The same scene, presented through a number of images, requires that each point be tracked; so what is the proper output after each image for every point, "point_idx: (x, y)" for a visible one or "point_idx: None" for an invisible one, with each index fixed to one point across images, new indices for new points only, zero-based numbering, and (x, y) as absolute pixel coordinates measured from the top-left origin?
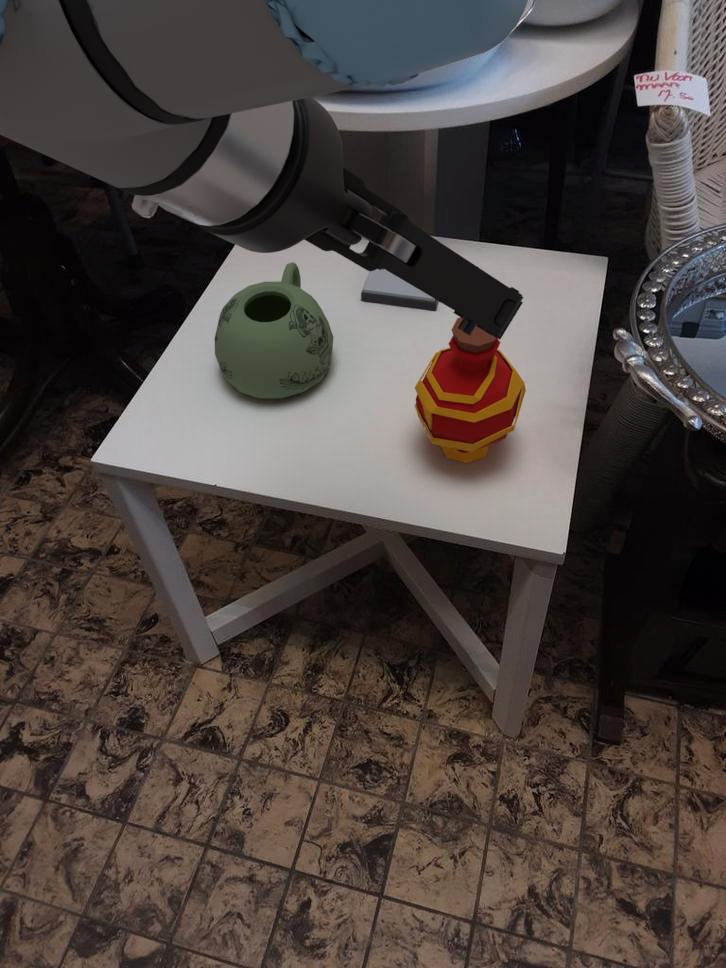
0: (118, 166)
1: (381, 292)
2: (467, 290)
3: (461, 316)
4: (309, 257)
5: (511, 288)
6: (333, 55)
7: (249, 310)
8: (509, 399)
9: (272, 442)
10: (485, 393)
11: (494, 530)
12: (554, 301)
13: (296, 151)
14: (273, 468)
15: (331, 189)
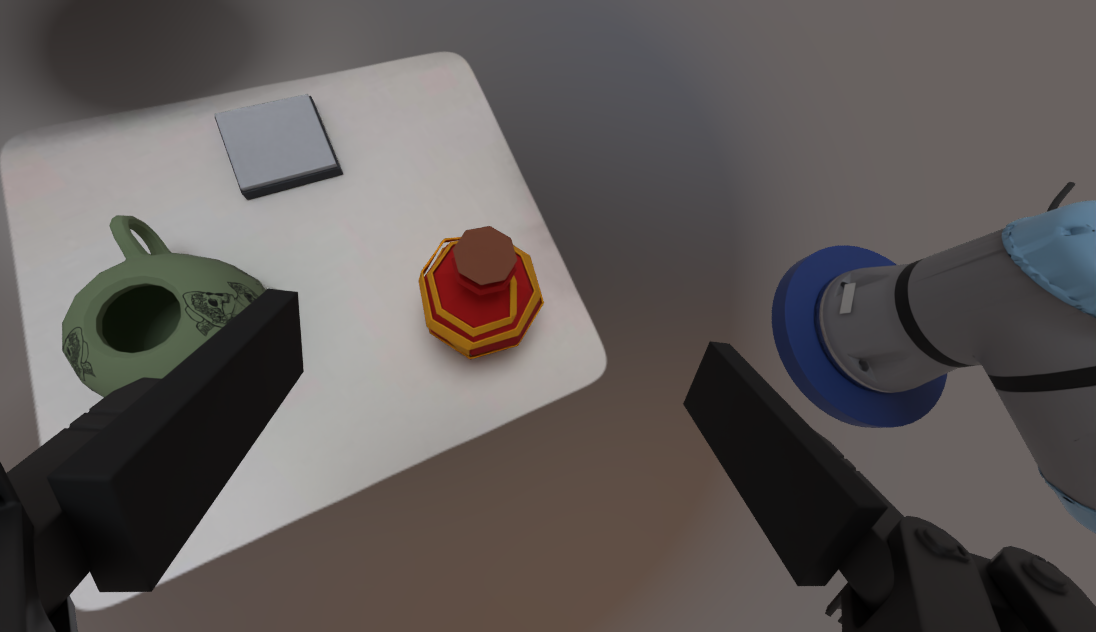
0: None
1: (267, 182)
2: None
3: (820, 585)
4: (126, 165)
5: (1065, 592)
6: None
7: (109, 315)
8: (536, 290)
9: (286, 444)
10: (517, 303)
11: (562, 389)
12: (450, 109)
13: None
14: (313, 474)
15: None
